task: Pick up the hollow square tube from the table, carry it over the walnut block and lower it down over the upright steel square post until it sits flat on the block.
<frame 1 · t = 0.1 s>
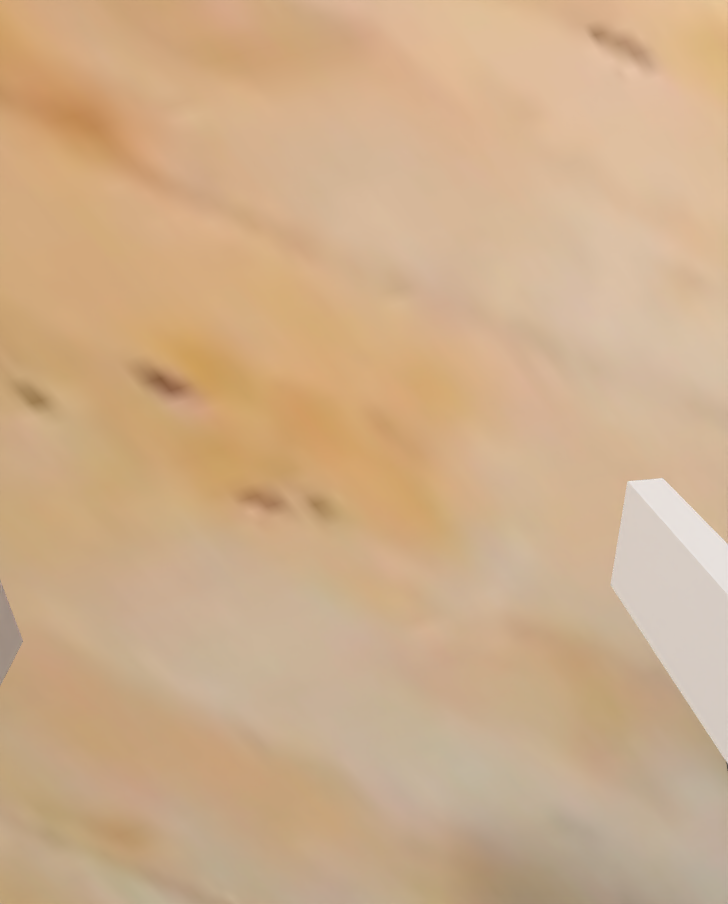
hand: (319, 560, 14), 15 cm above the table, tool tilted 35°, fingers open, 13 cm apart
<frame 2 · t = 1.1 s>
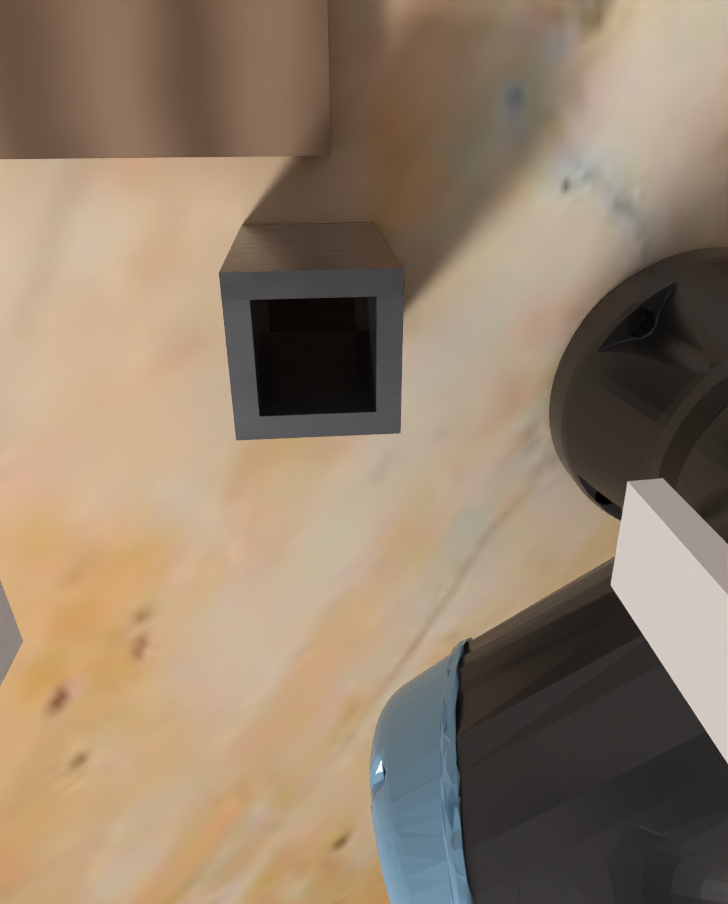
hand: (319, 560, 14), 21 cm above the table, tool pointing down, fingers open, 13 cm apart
hollow square tube: (310, 289, 32), on the table
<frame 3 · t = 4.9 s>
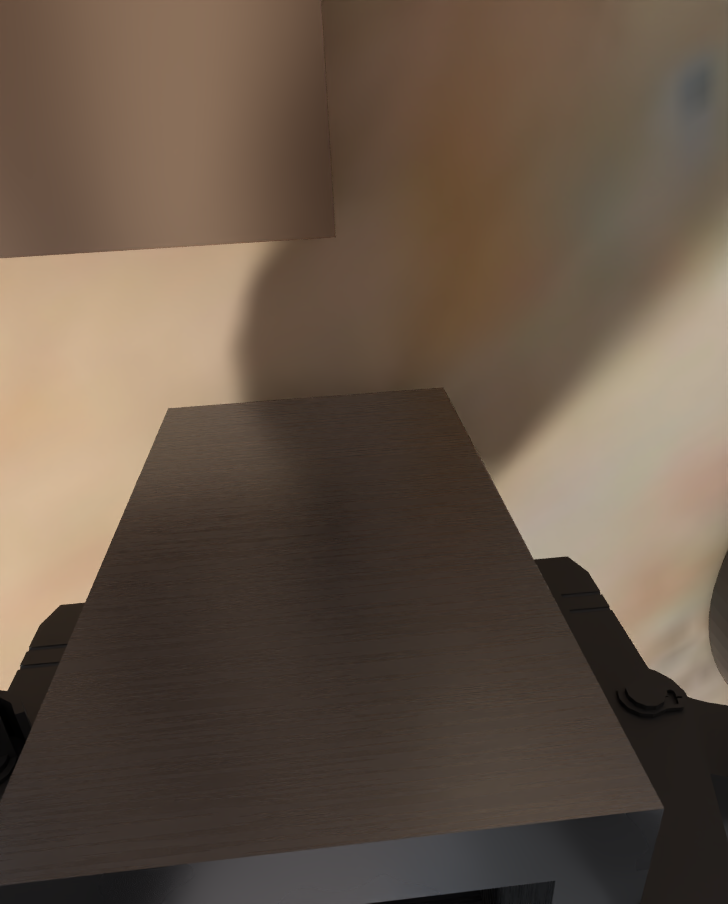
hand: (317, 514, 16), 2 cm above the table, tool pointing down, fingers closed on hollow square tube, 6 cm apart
hollow square tube: (317, 513, 16), point 2 cm above the table, touching gripper
when the fingers open (4 cm above the table, at t = 11.3 s): hollow square tube drops 1 cm, resting on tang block.
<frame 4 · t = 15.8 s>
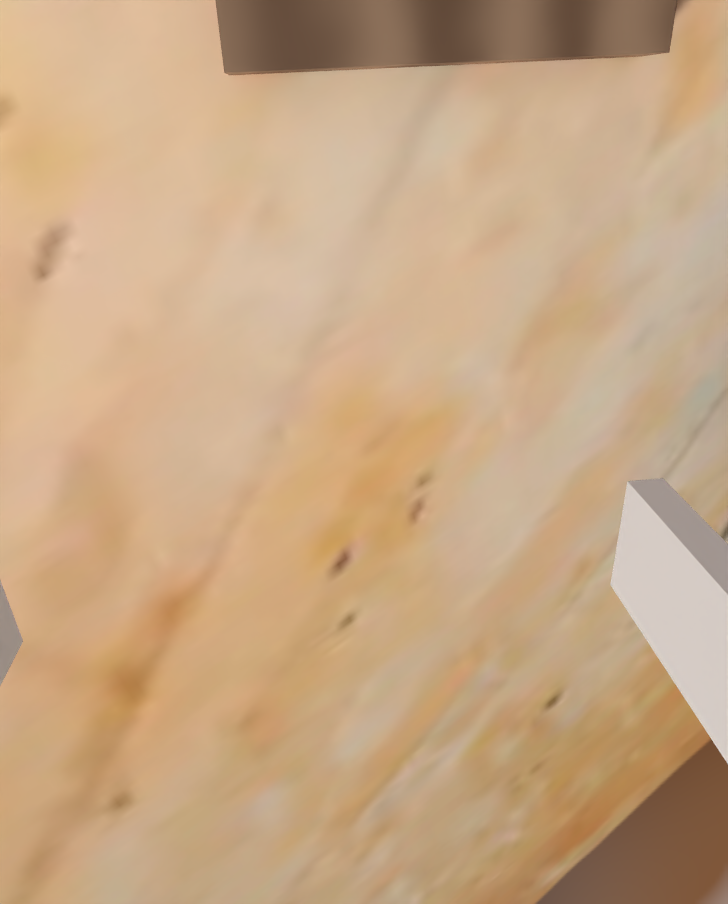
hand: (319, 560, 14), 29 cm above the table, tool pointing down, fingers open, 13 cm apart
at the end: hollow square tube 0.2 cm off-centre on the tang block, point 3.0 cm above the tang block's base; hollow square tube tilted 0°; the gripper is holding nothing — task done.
